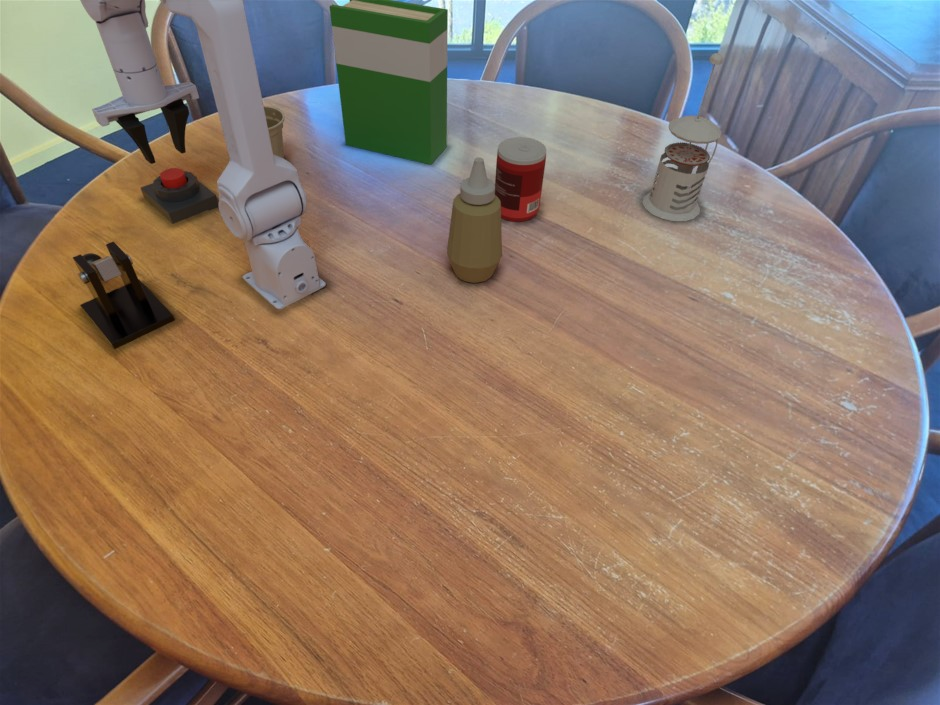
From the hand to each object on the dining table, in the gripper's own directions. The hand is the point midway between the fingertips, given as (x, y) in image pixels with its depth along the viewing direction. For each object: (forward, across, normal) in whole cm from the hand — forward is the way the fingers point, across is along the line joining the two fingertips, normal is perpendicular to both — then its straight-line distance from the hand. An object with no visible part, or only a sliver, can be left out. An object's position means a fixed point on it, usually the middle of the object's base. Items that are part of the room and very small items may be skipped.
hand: (165, 155), depth 96 cm
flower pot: (+9, -17, -2) cm, 19 cm away
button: (+5, 0, 0) cm, 5 cm away
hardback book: (+9, -39, +8) cm, 41 cm away
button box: (+8, 0, 0) cm, 8 cm away
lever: (+4, +18, +17) cm, 25 cm away
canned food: (+9, -40, +38) cm, 56 cm away
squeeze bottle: (+9, -23, +45) cm, 51 cm away
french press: (+9, -62, +55) cm, 83 cm away
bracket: (+8, +18, +21) cm, 29 cm away
